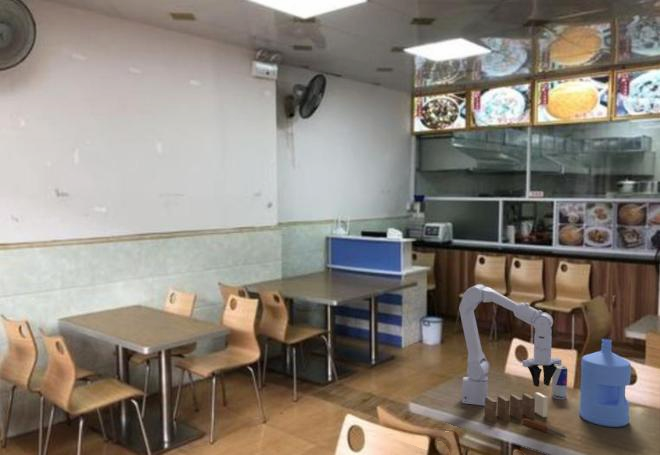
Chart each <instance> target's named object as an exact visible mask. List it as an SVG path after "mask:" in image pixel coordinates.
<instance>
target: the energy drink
mask: <svg viewBox="0 0 660 455" xmlns="http://www.w3.org/2000/svg"><path fill="white" fill-rule="evenodd" d="M554 366H556V367H557V370H556V371H555V372H554V374H553V376H552V378H551V397H552V398H553V399H556V400H566V399H567V395H568V392H567V391H568V367H567V366H565V365H562V364H561V365H558V364H557V365H554Z"/></svg>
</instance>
